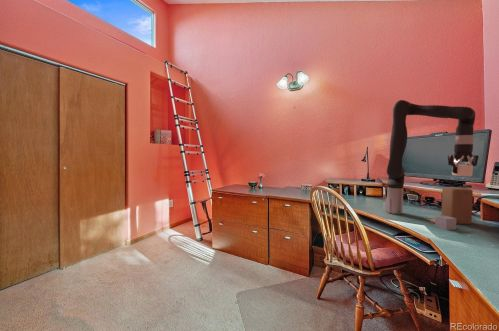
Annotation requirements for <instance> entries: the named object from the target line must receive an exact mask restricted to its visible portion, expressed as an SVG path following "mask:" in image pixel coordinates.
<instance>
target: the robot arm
mask: <svg viewBox="0 0 499 331" xmlns="http://www.w3.org/2000/svg"><path fill="white" fill-rule="evenodd" d="M407 116H422V117H423V116H425V117H430V118H431V117H432V118H436V119H437V118H440V119H453V120H458V121H457V126H456V128H455V138H454V148H453V149H454V150H453V151H454V154H449V155H447V162H448V166H451V167H453V169H452V168H451V173H452V172H453V173H455V174H457V170H458V167H457V166H458V165H460V164H461V163H462V162H463V163H464V164H465V165H473V167H476V166H477V165H478V160H479V155H474V154H473V151H474V125H475V121H476V112H475V110H474V109H473V108H471V107H469V106H449V105H439V104H438V105H435V104H432V105H431V104H430V105H429V104H428V105H422V104H414V103H411V102H409V101H408V100H404V99H400V100H398V101H395V104H393V107H392V125H391V126H392V127H391V134H390V143H389V159H388V164H387V166H386V174H387V176H388V180H387V184H386V185H387V186H386V197H385V210H384V211H385V212H386V213H388V214H394V215H402V214H403V213H404V185H405V168H404V167H403V158H404V154H405V152H406V147H407V142H408V129H407V123H406V122H407Z"/></svg>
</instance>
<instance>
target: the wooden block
mask: <svg viewBox="0 0 499 331" xmlns="http://www.w3.org/2000/svg"><path fill="white" fill-rule="evenodd" d="M441 191H442V192H441V216H443V215H446V216H449V217H453V218H456V225H457V224H459V225H471V224H472V221H473V220H472V219H473V197H474V196H473V192H474V191H473V190H472V189H470V188H465V187H460V186H459V187H457V186H456V187H455V186H444V187H442V190H441Z"/></svg>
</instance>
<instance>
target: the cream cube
mask: <svg viewBox="0 0 499 331" xmlns="http://www.w3.org/2000/svg"><path fill="white" fill-rule="evenodd" d="M451 167H452V166H451ZM457 167H458V170H457V174H455V173H453V172H452V171H451V175H452V176H458V177H473V169H474V166H473V165H466V164H458V166H457ZM452 169H453V167H452V168H451V170H452Z"/></svg>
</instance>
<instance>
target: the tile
mask: <svg viewBox="0 0 499 331" xmlns="http://www.w3.org/2000/svg"><path fill="white" fill-rule="evenodd" d="M424 220H425V221H426V222H430V223H432V224H435V218H424Z"/></svg>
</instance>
